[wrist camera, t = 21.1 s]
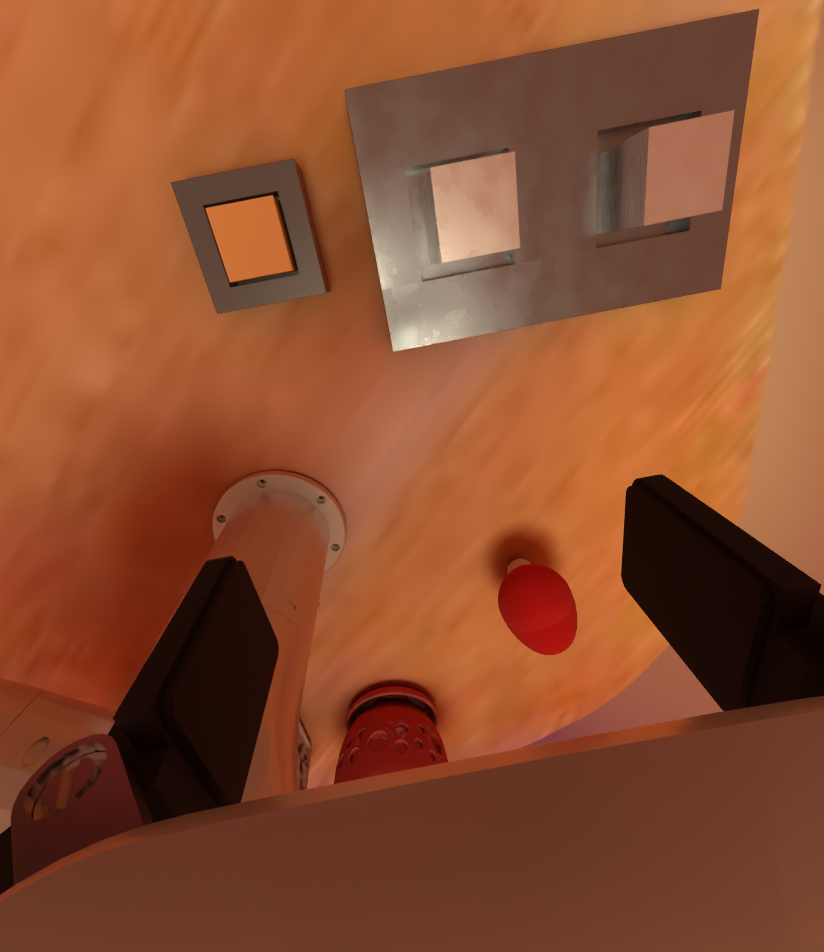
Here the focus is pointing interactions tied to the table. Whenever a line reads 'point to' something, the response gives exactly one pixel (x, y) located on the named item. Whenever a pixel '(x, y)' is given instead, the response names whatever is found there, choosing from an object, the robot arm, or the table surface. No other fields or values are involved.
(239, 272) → the button
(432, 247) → the seated billet
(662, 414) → the table surface
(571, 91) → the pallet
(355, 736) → the plant pot
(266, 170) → the button housing
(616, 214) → the block
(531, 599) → the light bulb
